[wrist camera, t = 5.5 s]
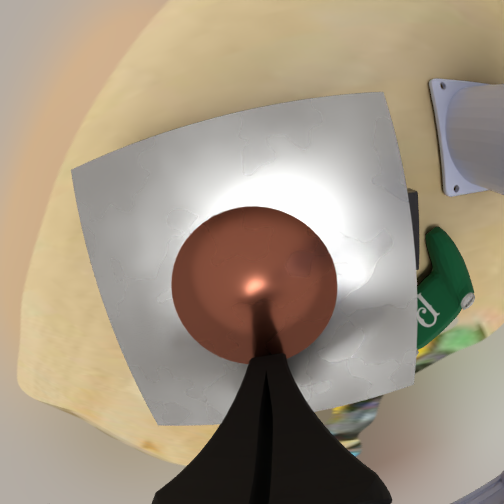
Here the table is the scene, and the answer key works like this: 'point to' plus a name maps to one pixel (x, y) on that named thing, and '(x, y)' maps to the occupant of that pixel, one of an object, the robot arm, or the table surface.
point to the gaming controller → (442, 288)
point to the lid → (257, 254)
